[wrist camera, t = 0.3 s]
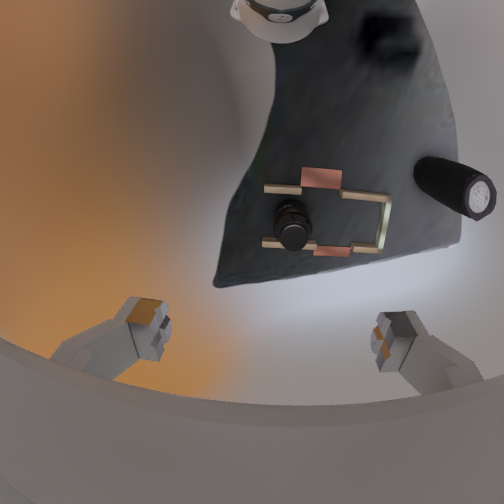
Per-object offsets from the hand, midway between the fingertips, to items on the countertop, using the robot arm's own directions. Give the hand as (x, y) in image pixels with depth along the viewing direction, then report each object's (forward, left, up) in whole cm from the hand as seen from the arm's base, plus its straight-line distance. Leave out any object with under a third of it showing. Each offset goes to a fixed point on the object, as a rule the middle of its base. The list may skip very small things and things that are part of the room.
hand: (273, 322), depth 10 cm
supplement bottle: (+10, +4, -46) cm, 48 cm away
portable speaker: (-2, +33, -46) cm, 57 cm away
